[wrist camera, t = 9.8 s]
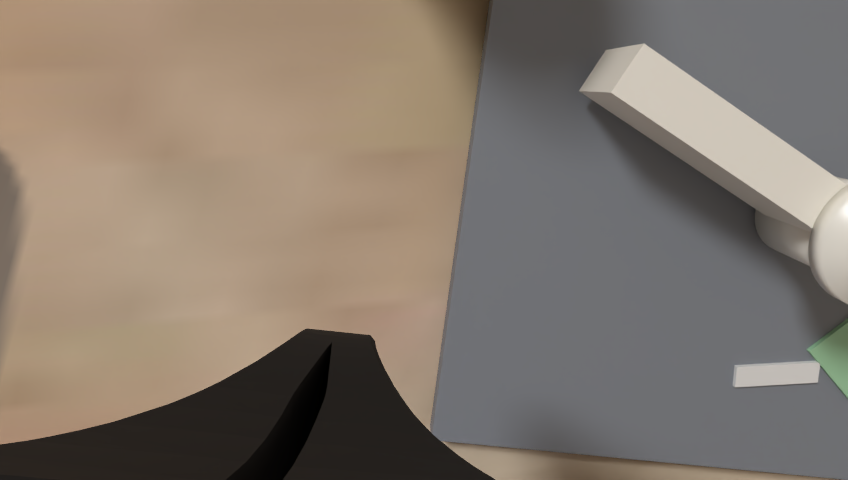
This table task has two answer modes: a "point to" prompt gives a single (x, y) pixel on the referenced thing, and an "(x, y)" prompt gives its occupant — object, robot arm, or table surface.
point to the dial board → (643, 248)
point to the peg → (732, 157)
